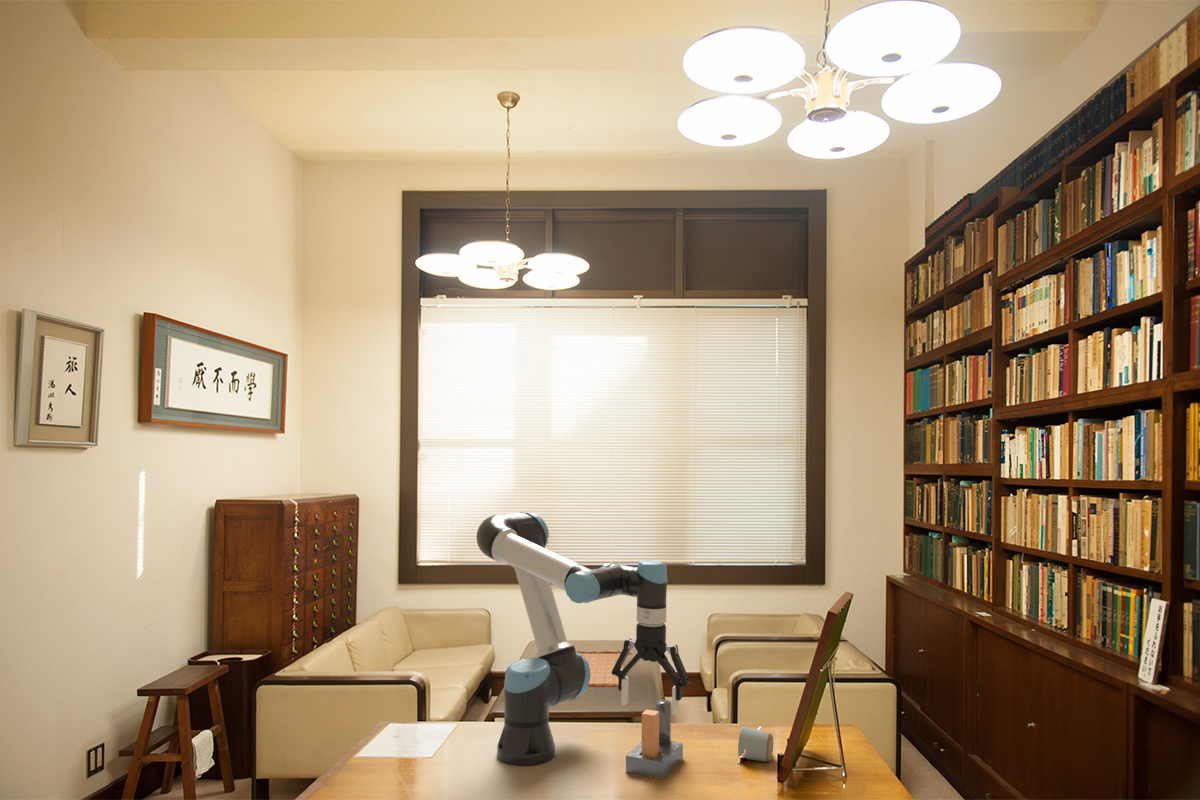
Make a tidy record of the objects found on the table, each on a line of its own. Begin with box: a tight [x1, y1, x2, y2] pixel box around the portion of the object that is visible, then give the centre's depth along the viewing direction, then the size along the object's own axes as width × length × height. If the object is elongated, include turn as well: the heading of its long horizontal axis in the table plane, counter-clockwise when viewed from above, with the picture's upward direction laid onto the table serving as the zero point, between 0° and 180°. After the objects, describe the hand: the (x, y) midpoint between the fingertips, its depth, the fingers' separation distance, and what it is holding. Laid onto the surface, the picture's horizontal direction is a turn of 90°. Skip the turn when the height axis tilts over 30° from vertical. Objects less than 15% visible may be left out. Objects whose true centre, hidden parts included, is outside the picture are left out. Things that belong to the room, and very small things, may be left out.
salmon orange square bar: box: [641, 709, 659, 758], centre depth 199 cm, size 3×3×14 cm
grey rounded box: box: [737, 726, 774, 763], centre depth 207 cm, size 11×8×8 cm
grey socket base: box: [625, 699, 684, 780], centre depth 202 cm, size 10×15×14 cm, turn 156°
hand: (649, 708), depth 199 cm, fingers open, 13 cm apart
